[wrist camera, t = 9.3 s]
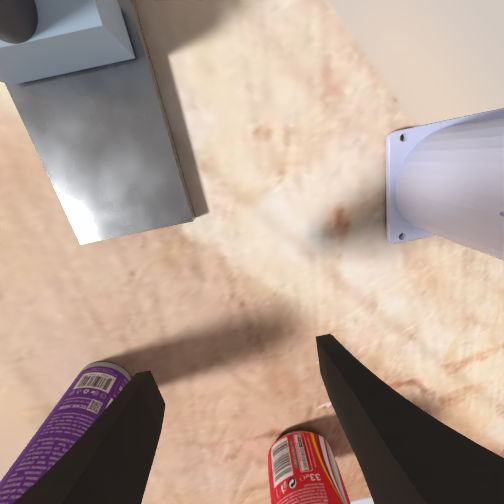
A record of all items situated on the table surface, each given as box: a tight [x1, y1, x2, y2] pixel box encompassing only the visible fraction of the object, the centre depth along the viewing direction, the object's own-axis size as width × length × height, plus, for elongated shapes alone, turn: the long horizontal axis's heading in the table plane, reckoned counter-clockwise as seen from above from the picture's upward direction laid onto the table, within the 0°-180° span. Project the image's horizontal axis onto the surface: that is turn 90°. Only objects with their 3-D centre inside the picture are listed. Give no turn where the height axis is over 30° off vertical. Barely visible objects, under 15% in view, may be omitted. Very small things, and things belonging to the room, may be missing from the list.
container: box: [0, 362, 131, 504], centre depth 16 cm, size 5×5×15 cm
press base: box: [5, 0, 195, 245], centre depth 12 cm, size 8×20×5 cm, turn 11°
